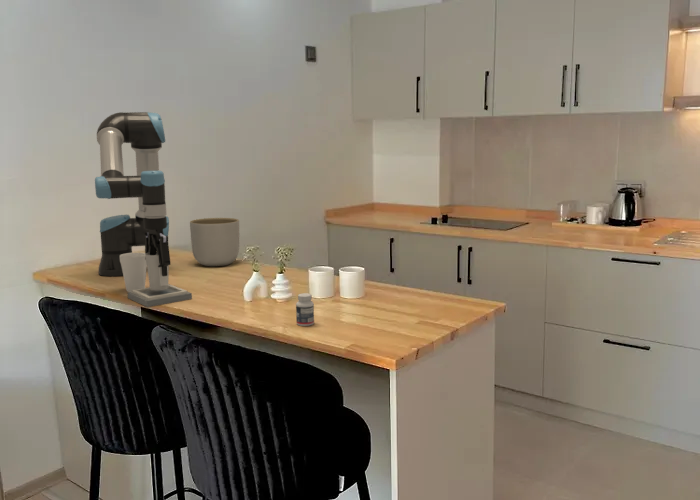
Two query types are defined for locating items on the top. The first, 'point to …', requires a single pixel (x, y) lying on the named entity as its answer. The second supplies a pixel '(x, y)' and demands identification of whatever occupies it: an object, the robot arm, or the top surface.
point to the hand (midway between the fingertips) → (158, 283)
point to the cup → (154, 272)
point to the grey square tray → (159, 296)
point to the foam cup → (134, 270)
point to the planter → (215, 240)
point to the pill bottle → (305, 310)
